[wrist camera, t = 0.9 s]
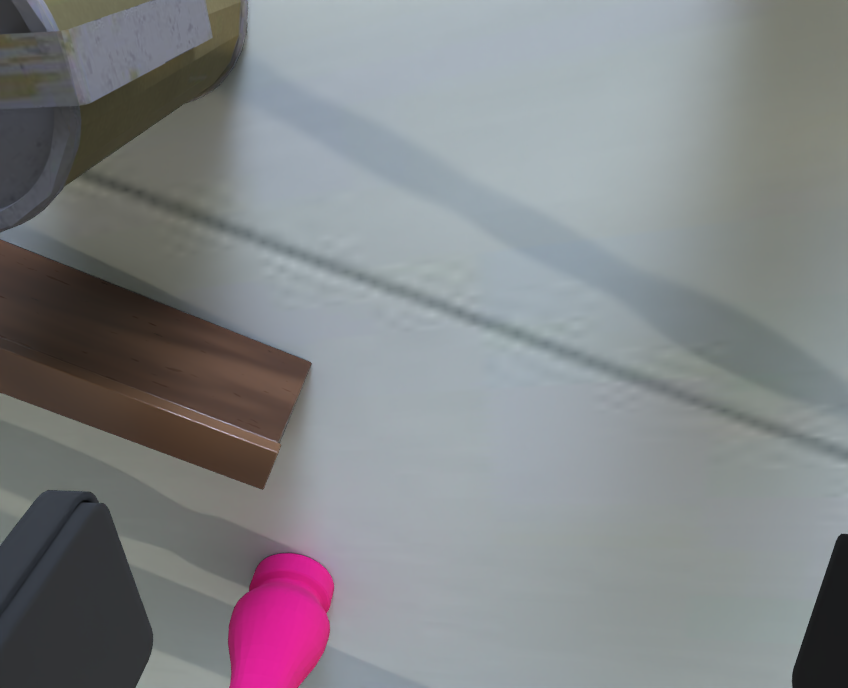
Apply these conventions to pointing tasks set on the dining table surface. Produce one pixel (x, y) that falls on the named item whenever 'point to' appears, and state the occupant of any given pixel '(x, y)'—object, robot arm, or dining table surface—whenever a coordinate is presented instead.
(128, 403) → the brown wooden ledge shelf
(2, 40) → the canister
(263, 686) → the pepper mill
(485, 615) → the dining table surface
